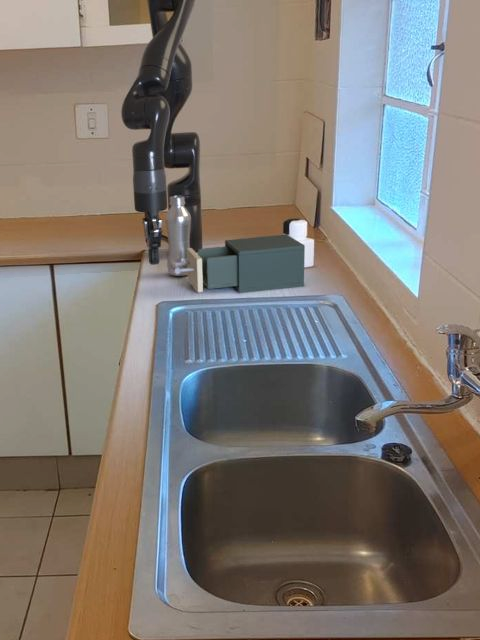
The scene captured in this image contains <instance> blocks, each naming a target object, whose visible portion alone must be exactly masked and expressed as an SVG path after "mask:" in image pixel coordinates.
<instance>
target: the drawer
mask: <svg viewBox="0 0 480 640" xmlns="http://www.w3.org/2000/svg"><path fill="white" fill-rule="evenodd" d="M169 265H170V267H171V268H172V269H173V271H174V272H175V273H176V274H179V273H180V272H185V271H188V275H187V281H188V282H189V283H190V284H191V286H192V287H193V288H194V289H195V290H196V292H197V293H204V286H205V287H206V288H207V290H208V289H209V290H210V289H211V290H212V289H220V288H222V289H223V288H229V287H230V288H231V287H233V286H238V254H237V253H235V252H234V251H233V250H232V249H231V248H230V247H228V246H225V245H224V246H215V247H206V248H202V249H198V254H197V253H196V252H195V251H194V250H193V249H192V248H187V262H179V263H175V262H173V261H171V262H170V263H169ZM179 265H187V268H184V269H179V267H178V266H179Z"/></svg>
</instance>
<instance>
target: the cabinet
mask: <svg viewBox="0 0 480 640" xmlns="http://www.w3.org/2000/svg"><path fill="white" fill-rule="evenodd" d="M225 246H228V247H230V248H231V249H232V250H233V251H234V252H235V253H237V254H238V286H232V287H233V288H234V289H235V290H236V291H237V292H238V293H240V294H241V293H250V292H251V293H252V292H259V291H260V292H261V291H269V290H279V289H290V288H297V287H298V288H300V287H304V286H305V268H304V256H305V245H303V244H301V243H300V242H298V241H297V240H295V239H293V238H292V237H290V236H288V235H287V234H286V235H283V234H277V235H266V236H265V235H264V236H256V237H246V238H233V239H226V240H224V247H225Z"/></svg>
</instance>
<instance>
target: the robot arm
mask: <svg viewBox="0 0 480 640" xmlns="http://www.w3.org/2000/svg"><path fill="white" fill-rule="evenodd" d="M146 2H147V10H148V15H149V22H150V29H151V35H152V38H151V40H150V41H149V42H148V43H147V45H146V47H145V48H144V50H143V52H142V56H141V60H140V65H139V70H138V73H137V76H136V78H135V80H134V81H133V83H132V85H131V87H130V88H129V90H128V92H127V94H126V96H125V97H124V99H123V102H122V106H121V110H120V115H121V120H122V123H123V125H124V126H125V127H126V128H127V129H129V130H133V131H139V130H141V131H142V130H150V132H149V136H148V138H147V139H143V140H139V141H137V142H135V143H133V145H132V147H131V150H132V151H131V154H132V155H131V156H132V172H133V173H132V189H133V201H134V202H133V203H134V210H135V211H136V212H138V213H143V214H144V217H142V218H141V219H142V221H141V222H142V225H143V234H144V237H145V243H146V247H147V249H148V250H147V251H148V262H149V264H150V265H159V264H160V251H159V250H160V248H161V246H162V238H163V239H165V240H167V241H169V240H168V235H164V234H163V229H162V225H163V223H162V218H160V215H159V212H164V211H166V210H167V212H168V211H169V209H170V208H171V205H170V197H171V196H184V198H185V204H184V207H185V208H186V209H187V210H188V212H189V213H190V216H191V225H190V238H189V240H190V243H189V244H190V248H192V249H193V250H194V251H195V252H196V253H197V254H198V249H203V219H202V193H201V192H202V191H201V190H202V189H201V140H200V136H199V134H198V133H197V132H195V131H187V132H186V131H185V132H172V130H173V127H174V124H175V122H176V120H177V118H178V116H179V114H180V113H181V111H182V110H183V108H184V106H186V103H187V101H188V100H189V98H190V96H191V94H192V91H193V65H192V61H191V58H190V56H189V54H188V52H187V51H186V49H185V48H184V47H183V45H182V44H181V41H182V38H183V36H184V33H185V31H186V28H187V25H188V23H189V20H190V18H191V15H192V13H193V10H194V7H195V3H196V0H146ZM167 13H172V14H171V16H170V18H169V19H168V14H167ZM165 169H170V170H171V169H172V170H173V169H188V171H187V172H186V173H185V174H184V175H183V176H181V177H179V178H176V179H175V180H172V181H170V182H168V184H167V176H166V175H167V174H166V170H165Z"/></svg>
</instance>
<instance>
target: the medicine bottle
mask: <svg viewBox="0 0 480 640" xmlns="http://www.w3.org/2000/svg"><path fill="white" fill-rule="evenodd" d="M286 234H287V235H288V236H290V237H292V238H293V239H295V240H297V241H298V242H300V243H301V244H303V245H305V256H304V269H306V268H311V267H314V265H315V264H314V262H315V261H314V260H315V239H314V238H310V237H307V236H308V221H307V220H306V219H303V218H288V219H286V220H284V221H283V223H282V235H286Z"/></svg>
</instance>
